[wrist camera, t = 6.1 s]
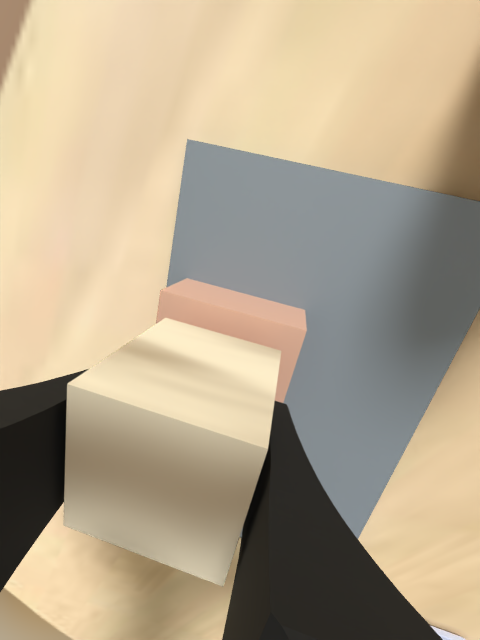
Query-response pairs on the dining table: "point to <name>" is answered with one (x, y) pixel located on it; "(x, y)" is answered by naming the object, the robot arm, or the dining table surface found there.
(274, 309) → the base block
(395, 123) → the dining table surface
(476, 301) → the blue-grey rectangular mat
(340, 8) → the dining table surface
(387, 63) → the dining table surface
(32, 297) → the dining table surface
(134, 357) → the maple block
